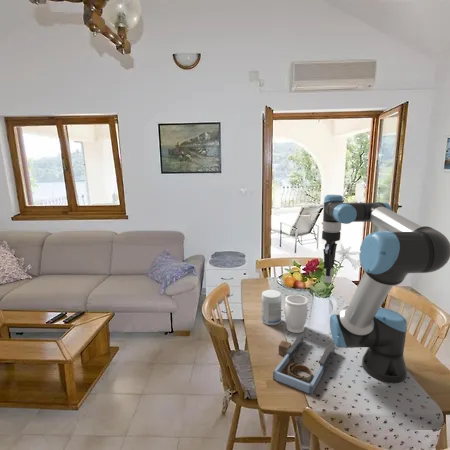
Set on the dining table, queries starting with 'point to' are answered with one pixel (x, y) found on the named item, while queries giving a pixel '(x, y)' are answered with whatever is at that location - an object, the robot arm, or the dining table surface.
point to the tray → (293, 381)
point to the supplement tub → (271, 307)
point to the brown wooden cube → (284, 347)
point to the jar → (296, 313)
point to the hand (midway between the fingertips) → (328, 281)
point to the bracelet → (304, 379)
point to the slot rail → (325, 356)
